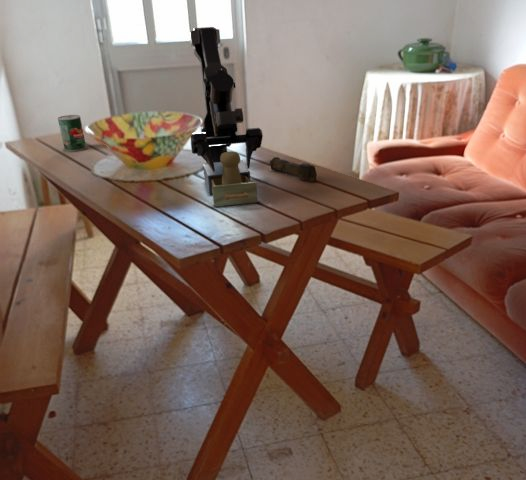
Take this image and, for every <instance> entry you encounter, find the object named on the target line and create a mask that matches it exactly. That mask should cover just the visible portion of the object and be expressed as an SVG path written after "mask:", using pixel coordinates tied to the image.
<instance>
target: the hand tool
mask: <svg viewBox="0 0 526 480" xmlns="http://www.w3.org/2000/svg"><path fill="white" fill-rule="evenodd" d="M269 166H270V170H272V171H275V172H277V171H279V172H282V173H284V174H285V173H286V174H288V175H292V176H296V177H298V178H299V180H301V181H304V182H317V176H318V175H317V170H316V166H315V165H314V164H310V163H306V162H303V163H300V164H299V163H295V162H292V161H289V160H285V159H281V158H280V157H278V156H277V157H275V156H274V157H273V158H271V160H270V161H269Z"/></svg>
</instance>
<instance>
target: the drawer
mask: <svg viewBox="0 0 526 480" xmlns="http://www.w3.org/2000/svg"><path fill="white" fill-rule="evenodd" d="M240 176H241V182H242V183H236V184H226V185H222V177H212V178H211V188H212V192H213V195H212V202H213V204H212V205H213V207H224V206H225V207H226V206H234V205H243V204H254V203H258V183H257V181H251V180H250V181H249V179H248V178H247V176H246V174H244V175H240Z"/></svg>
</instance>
